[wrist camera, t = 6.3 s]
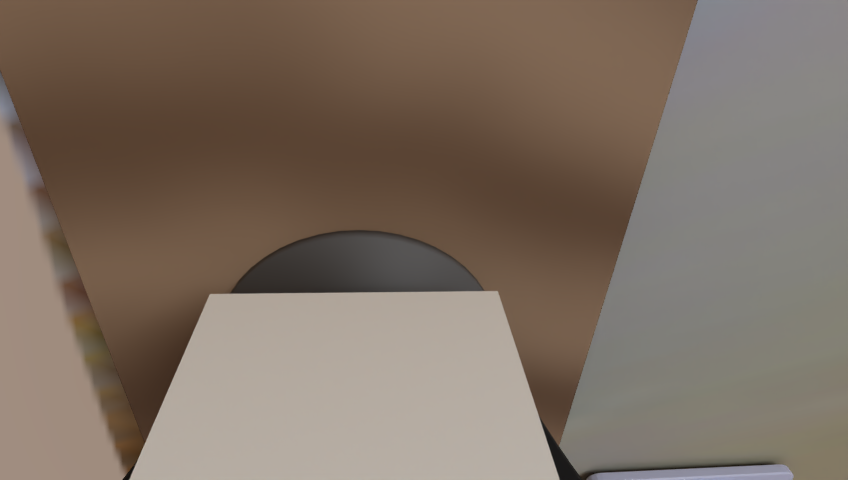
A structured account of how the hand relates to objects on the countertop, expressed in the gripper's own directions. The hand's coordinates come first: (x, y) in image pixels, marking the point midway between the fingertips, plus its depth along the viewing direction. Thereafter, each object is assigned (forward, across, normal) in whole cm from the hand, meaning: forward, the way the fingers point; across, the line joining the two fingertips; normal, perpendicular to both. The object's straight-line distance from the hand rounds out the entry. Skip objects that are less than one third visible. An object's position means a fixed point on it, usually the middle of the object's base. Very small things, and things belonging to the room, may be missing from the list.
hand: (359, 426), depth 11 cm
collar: (+1, 0, 0) cm, 1 cm away
